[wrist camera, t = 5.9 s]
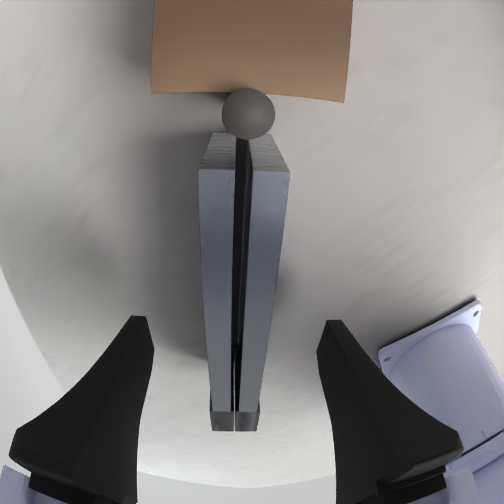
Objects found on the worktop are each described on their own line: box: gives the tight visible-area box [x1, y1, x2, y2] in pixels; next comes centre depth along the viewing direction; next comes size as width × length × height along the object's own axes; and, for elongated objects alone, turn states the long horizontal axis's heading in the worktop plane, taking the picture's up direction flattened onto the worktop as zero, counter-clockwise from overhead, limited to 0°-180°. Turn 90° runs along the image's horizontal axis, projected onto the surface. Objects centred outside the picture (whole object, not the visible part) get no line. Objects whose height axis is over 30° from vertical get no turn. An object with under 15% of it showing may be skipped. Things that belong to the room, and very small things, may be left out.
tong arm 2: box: [234, 134, 290, 431], centre depth 12 cm, size 13×1×4 cm, turn 177°
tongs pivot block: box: [151, 0, 353, 140], centre depth 6 cm, size 5×4×5 cm
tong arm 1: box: [198, 133, 236, 431], centre depth 12 cm, size 13×1×4 cm, turn 177°
